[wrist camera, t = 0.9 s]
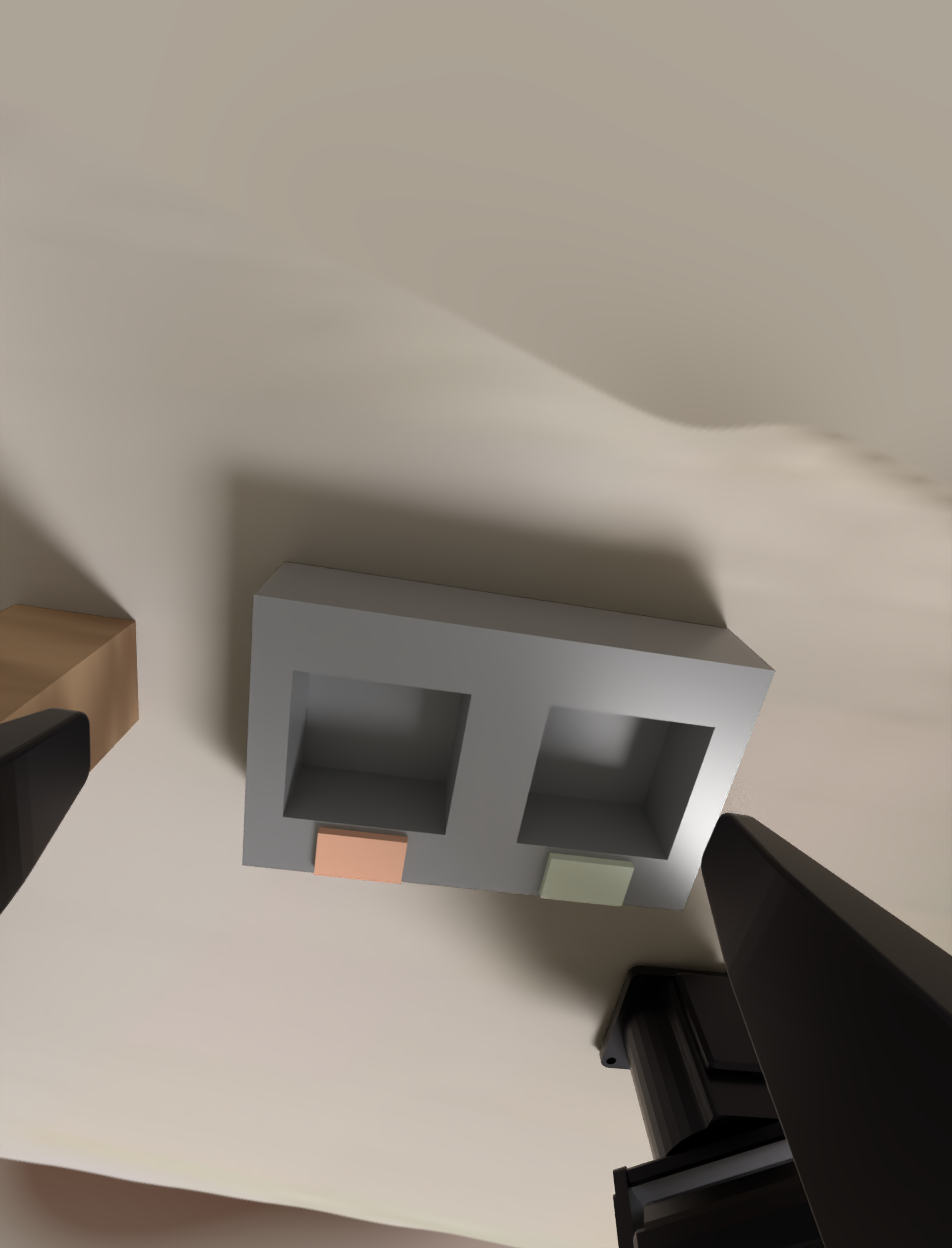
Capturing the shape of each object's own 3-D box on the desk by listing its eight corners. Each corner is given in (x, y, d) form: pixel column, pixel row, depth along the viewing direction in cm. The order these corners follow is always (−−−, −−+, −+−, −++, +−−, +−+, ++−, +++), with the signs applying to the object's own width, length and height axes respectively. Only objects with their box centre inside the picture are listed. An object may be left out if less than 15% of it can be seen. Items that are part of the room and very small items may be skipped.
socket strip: (653, 844, 26) (685, 917, 22) (270, 800, 24) (239, 871, 21) (728, 628, 22) (780, 674, 19) (284, 561, 21) (250, 598, 17)
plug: (138, 719, 23) (-13, 880, 15) (25, 705, 23) (-185, 864, 15) (135, 621, 21) (-34, 747, 14) (15, 604, 21) (-223, 724, 14)
